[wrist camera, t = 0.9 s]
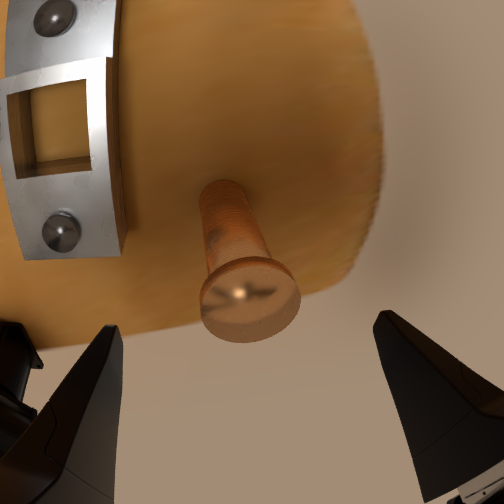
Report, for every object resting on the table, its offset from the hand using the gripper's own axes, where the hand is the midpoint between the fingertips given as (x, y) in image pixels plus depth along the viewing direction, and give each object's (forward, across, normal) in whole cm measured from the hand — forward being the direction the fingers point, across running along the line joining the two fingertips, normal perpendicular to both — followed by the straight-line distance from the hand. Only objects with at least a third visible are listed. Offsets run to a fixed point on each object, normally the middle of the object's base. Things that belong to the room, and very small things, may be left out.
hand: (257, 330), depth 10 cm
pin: (+12, 0, +1) cm, 12 cm away
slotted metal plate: (+12, +10, -4) cm, 16 cm away
